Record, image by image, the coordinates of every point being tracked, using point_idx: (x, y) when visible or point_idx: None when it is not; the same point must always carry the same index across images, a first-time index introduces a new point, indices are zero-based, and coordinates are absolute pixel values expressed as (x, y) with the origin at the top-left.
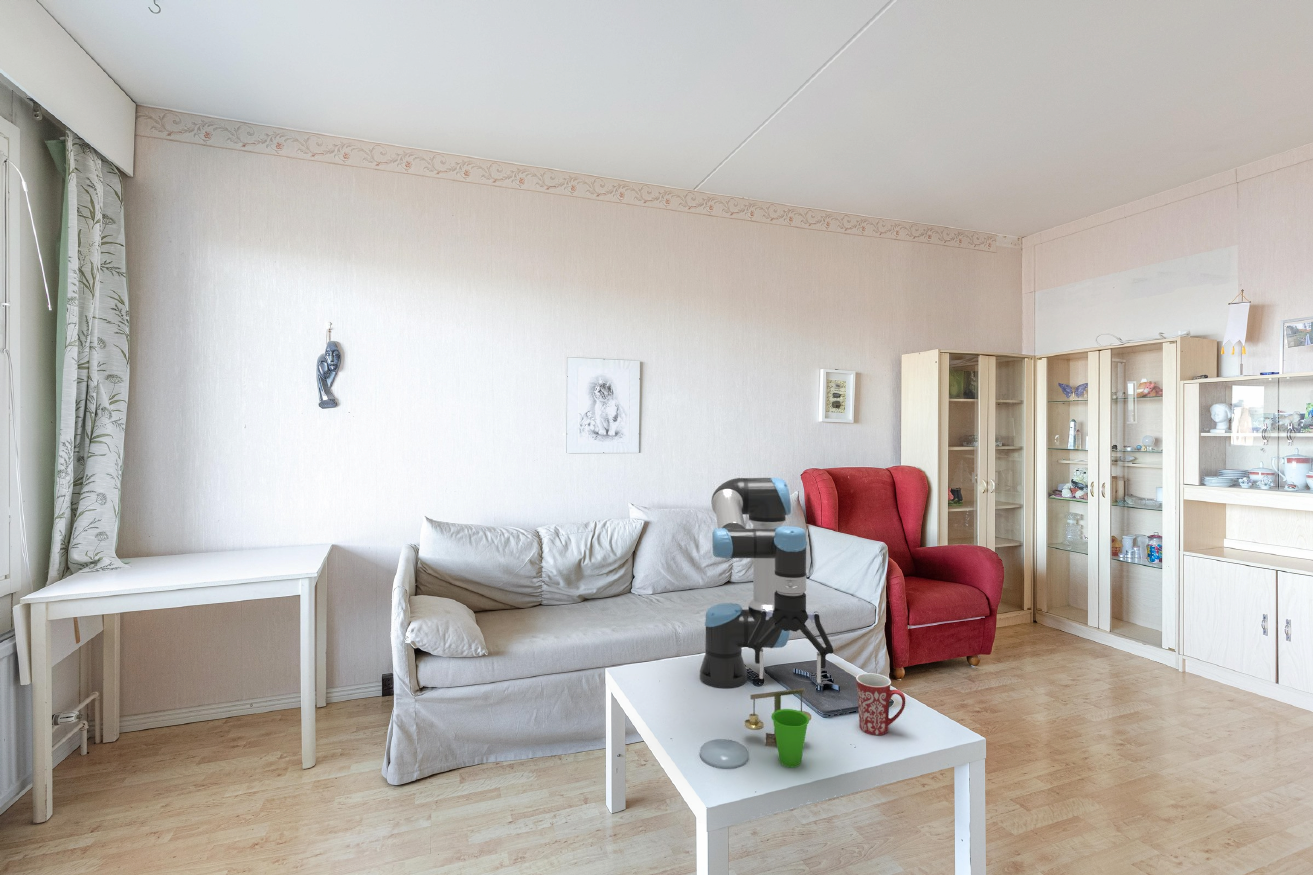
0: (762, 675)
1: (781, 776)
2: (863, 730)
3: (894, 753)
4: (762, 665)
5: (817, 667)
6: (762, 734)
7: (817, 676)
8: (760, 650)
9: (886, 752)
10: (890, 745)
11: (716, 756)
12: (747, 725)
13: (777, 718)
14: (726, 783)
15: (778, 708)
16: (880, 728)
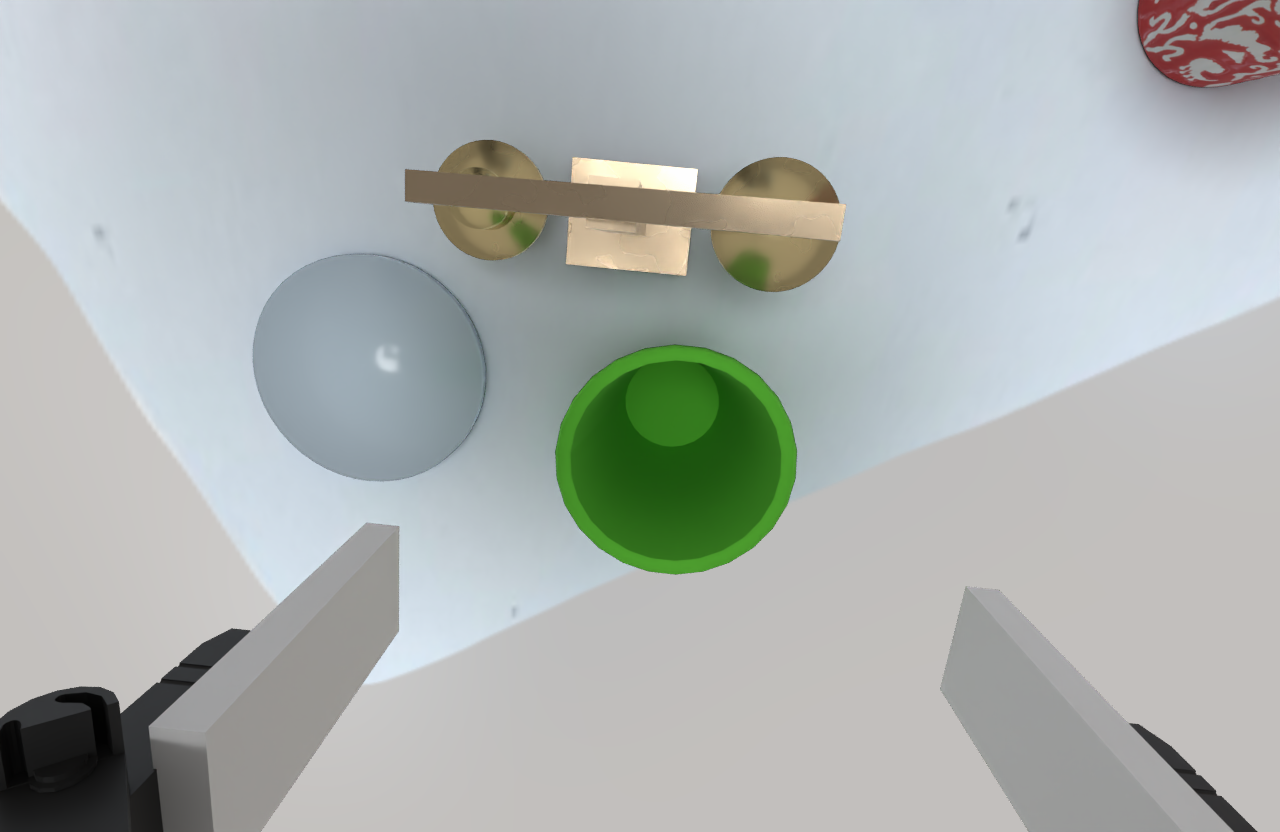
0: (382, 649)
1: None
2: (1145, 47)
3: (1206, 279)
4: (327, 728)
5: (1024, 813)
6: (558, 144)
7: (970, 735)
8: (172, 824)
9: (1169, 273)
10: (1225, 198)
11: (336, 420)
12: (452, 231)
13: (602, 393)
14: (402, 571)
15: (623, 232)
16: (1257, 78)
